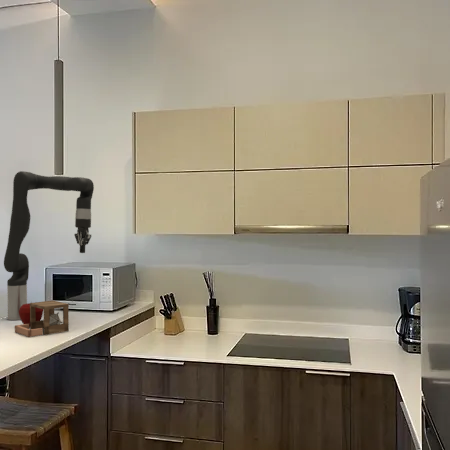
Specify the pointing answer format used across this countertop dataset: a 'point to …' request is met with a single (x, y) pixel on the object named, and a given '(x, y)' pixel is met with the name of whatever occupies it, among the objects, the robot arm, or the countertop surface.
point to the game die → (53, 319)
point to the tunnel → (48, 309)
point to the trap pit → (28, 331)
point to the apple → (25, 313)
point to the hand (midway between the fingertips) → (82, 252)
